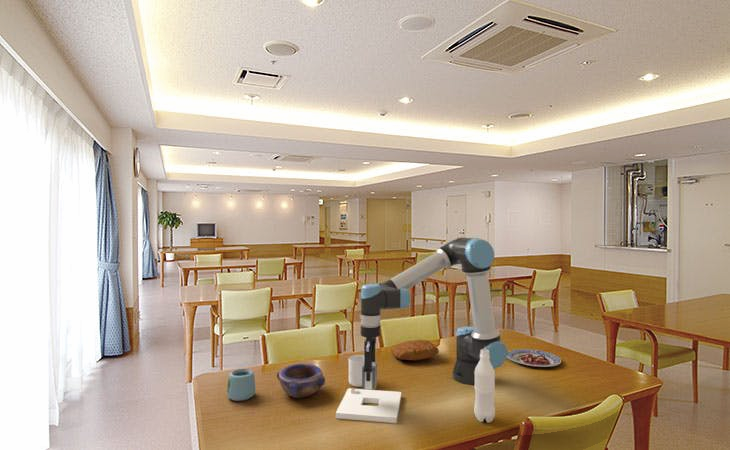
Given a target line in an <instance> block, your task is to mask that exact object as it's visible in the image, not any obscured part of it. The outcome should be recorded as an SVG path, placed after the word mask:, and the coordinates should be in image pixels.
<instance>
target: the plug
mask: <svg viewBox="0 0 730 450" xmlns="http://www.w3.org/2000/svg"><path fill="white" fill-rule="evenodd" d="M363 370H364V364H363V367H362V387H361V389H365V372H363ZM377 385H378V363H377V361H375V362H372V389H371V390H376V388H377ZM365 390H366V389H365Z"/></svg>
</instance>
